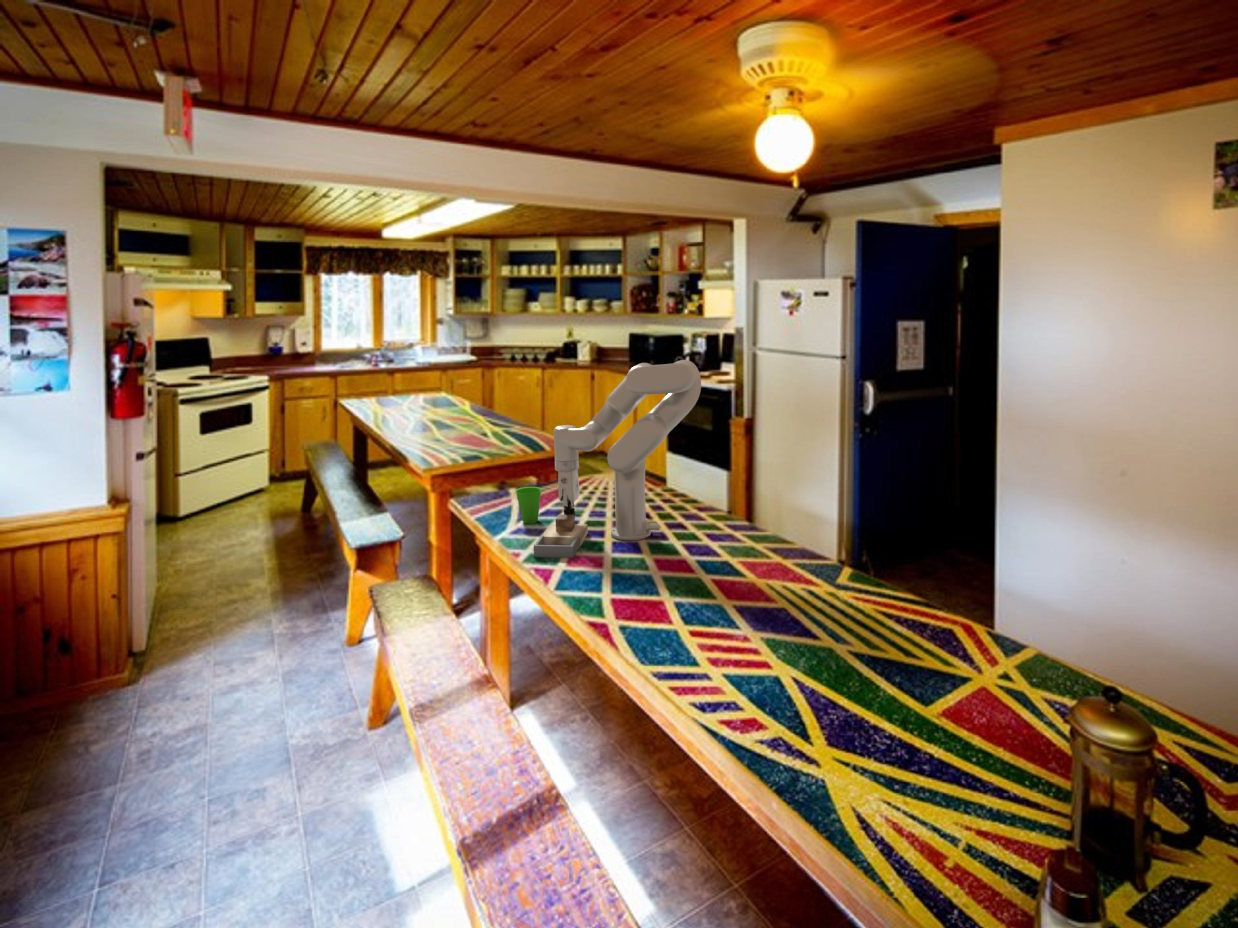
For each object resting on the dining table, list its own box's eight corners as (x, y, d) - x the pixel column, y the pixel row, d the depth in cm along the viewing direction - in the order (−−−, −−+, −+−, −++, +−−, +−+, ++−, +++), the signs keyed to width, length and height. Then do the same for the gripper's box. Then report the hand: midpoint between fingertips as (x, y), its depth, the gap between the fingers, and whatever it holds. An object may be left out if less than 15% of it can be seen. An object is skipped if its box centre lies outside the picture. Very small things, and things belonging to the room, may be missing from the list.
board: (587, 533, 230) (587, 524, 229) (580, 546, 218) (579, 537, 217) (551, 532, 232) (550, 523, 231) (541, 545, 219) (540, 536, 219)
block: (574, 526, 227) (574, 514, 226) (571, 531, 222) (571, 519, 222) (559, 526, 228) (558, 514, 227) (556, 531, 223) (555, 519, 222)
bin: (579, 547, 217) (578, 536, 217) (573, 557, 208) (572, 546, 208) (541, 546, 219) (541, 535, 218) (534, 556, 210) (533, 545, 209)
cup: (532, 526, 238) (530, 494, 236) (511, 523, 243) (509, 491, 240) (548, 519, 246) (547, 488, 243) (528, 516, 250) (526, 485, 248)
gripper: (573, 470, 219) (576, 527, 223) (583, 459, 233) (585, 513, 238) (549, 470, 220) (552, 527, 224) (560, 459, 235) (563, 513, 239)
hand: (569, 520), depth 231 cm, fingers closed
